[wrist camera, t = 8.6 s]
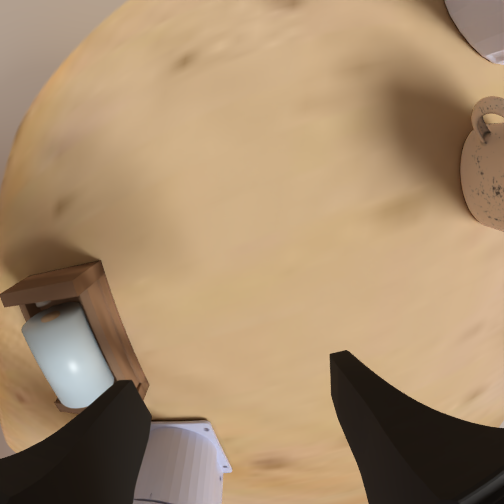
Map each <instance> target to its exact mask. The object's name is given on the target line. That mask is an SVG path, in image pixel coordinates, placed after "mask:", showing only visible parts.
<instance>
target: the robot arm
mask: <svg viewBox="0 0 504 504" xmlns="http://www.w3.org/2000/svg"><path fill="white" fill-rule="evenodd" d="M330 374H331V396H332V400H333V403H334V407H335V410H336V414H337V417H338V420H339V422H340V425H341V427H342V429H343V432H344V434H345V436H346V439H347V441H348V443H349V446H350V448H351V450H352V453H353V455H354V457H355V460H356V462H357V465H358V467H359V470H360V473H361V476H362V480H363V483H364V487H365V491H366V494H367V498H368V502H369V504H504V428H496V427H489V426H484V425H480V424H475V423H471V422H468V421H464V420H461V419H458V418H455V417H452V416H449V415H446V414H444V413H441V412H439V411H436V410H434V409H432V408H430V407H428V406H426V405H424V404H422V403H420V402H418V401H416V400H414V399H412V398H411V397H409V396H407V395H406V394H404V393H402V392H401V391H399V390H398V389H396V388H395V387H393V386H392V385H390V384H389V383H387V382H386V381H385V380H383V379H382V378H381V377H379V376H378V375H377V374H375V373H374V372H373V371H371V370H370V369H369V368H368V367H367V366H365V365H364V364H363V363H362V362H361V361H359V360H358V359H357V358H356V357H355V356H354V355H352V354H351V353H350V352H349V351H347V350H345V351H341V352H337V353H332V354H330ZM151 418H152V416H151V414H150V412H149V410H148V409H147V407H146V405H145V403H144V401H143V400H142V398H141V396H140V394H139V392H138V390H137V388H136V386H135V384H134V383H133V381H132V380H118V381H117V382H115V383H114V384H113V385H112V386H110V387H109V388H108V389H107V390H106V391H105V392H104V393H102V394H101V395H100V396H99V397H98V398H97V399H96V400H95V401H94V402H92V403H91V404H90V405H89V406H88V407H87V408H86V409H84V410H83V411H82V412H81V413H80V414H79V415H77V416H76V417H75V418H74V419H72V420H71V421H70V422H69V423H67V424H66V425H65V426H64V427H62V428H61V429H60V430H58V431H57V432H55V433H54V434H52V435H51V436H49V437H48V438H46V439H44V440H43V441H41V442H39V443H37V444H35V445H33V446H31V447H30V448H28V449H26V450H24V451H21V452H19V453H16V454H14V455H11V456H8V457H5V458H2V459H0V504H222V487H223V473H230V472H232V467H231V465H230V463H229V461H228V459H227V457H226V455H225V453H224V451H223V449H222V447H221V445H220V443H219V441H218V439H217V436H216V434H215V432H214V430H213V428H212V426H211V423H210V422H209V421H206V420H199V421H171V422H151Z"/></svg>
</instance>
